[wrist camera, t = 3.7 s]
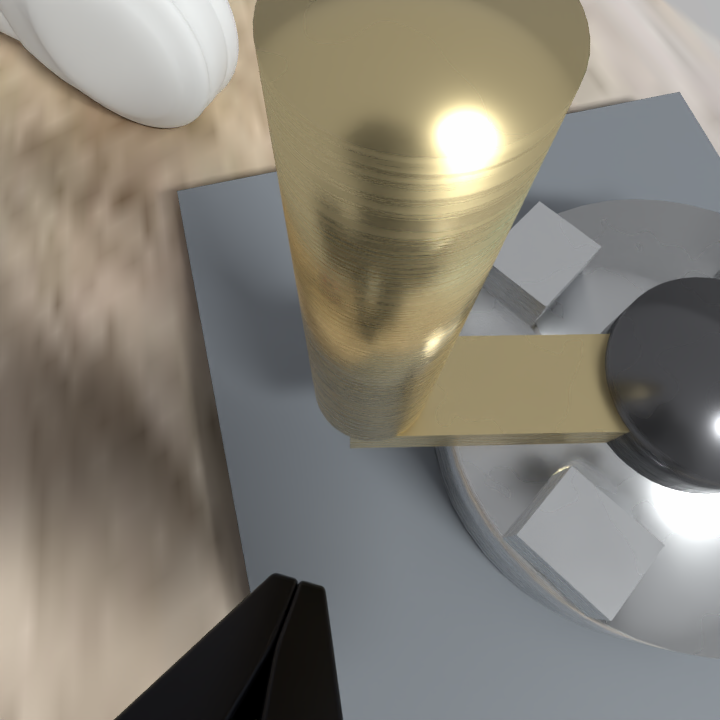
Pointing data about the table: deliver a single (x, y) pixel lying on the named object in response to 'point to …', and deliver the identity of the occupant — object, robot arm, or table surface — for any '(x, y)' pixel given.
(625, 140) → the housing plate
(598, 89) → the table surface
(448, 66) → the brass lever assembly
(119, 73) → the headphones
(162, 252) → the table surface
